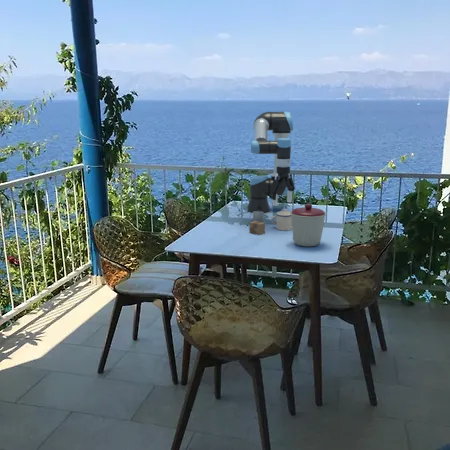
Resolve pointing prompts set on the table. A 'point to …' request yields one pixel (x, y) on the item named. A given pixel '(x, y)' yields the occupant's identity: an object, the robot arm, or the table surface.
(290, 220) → the teacup with lid
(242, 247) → the table surface
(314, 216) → the canister
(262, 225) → the walnut block
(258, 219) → the grey rounded piece
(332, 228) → the table surface
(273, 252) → the table surface
